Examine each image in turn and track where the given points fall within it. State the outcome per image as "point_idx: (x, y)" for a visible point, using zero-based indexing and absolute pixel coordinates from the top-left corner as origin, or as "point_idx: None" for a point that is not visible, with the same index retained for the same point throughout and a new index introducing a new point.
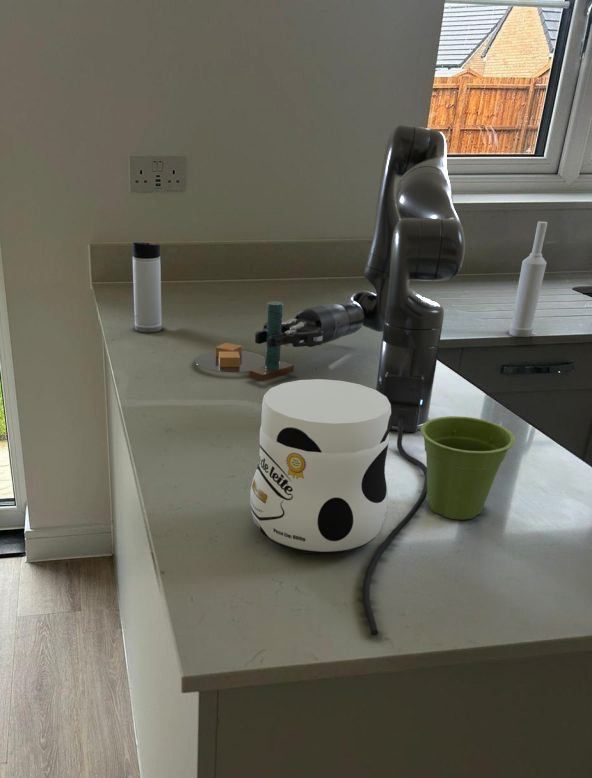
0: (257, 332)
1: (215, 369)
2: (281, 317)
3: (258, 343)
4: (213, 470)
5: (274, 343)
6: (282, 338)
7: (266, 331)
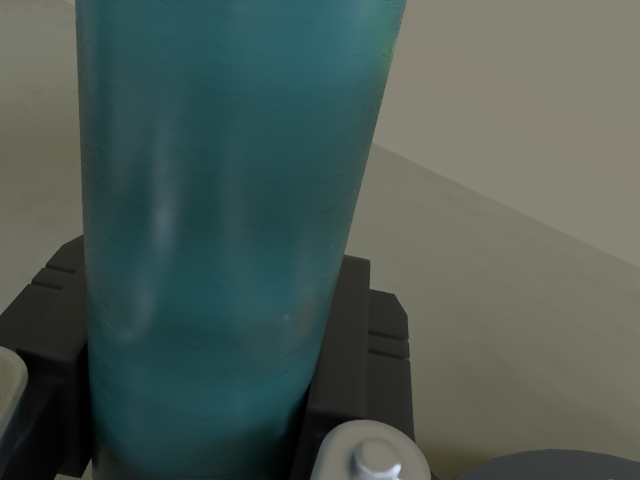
0: (354, 257)
1: (546, 467)
2: (81, 116)
3: None
4: (24, 47)
5: None
6: (18, 307)
7: None
